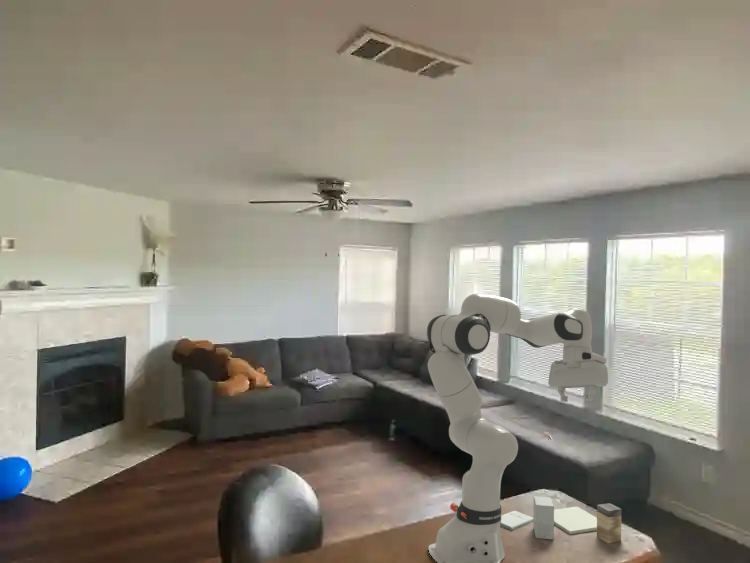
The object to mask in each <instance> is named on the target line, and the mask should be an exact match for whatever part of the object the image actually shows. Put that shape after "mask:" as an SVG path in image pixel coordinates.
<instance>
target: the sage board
mask: <svg viewBox="0 0 750 563" xmlns="http://www.w3.org/2000/svg"><path fill="white" fill-rule="evenodd" d="M554 526H556V527H558V528H560V530H562V531H564V532H565V533H567V534H568V535H577V534H581V533H587V532H594V531H597V516H595V515H593V514H591V513H589V512H588V511H586V510H584V509H582V508H580V507H579V506H571V507H569V506H568V507H563V508H556V509H555V508H554Z"/></svg>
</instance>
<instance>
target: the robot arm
mask: <svg viewBox="0 0 750 563" xmlns="http://www.w3.org/2000/svg"><path fill="white" fill-rule="evenodd" d="M460 309H461V310H460V313H459V314H441V315H438V316H435V317H433V318H432V319H431V320H430V321H429V323H428V324H427V328H426V336H427V340H428V345H429V346H428V347H429V350H430V351H431V352H432V353H433V354H432V355H431V356H430V357H429V358H428V361H427V370H428V373H429V376H430V379H431V382H432V384H433V386H434V390H435V391H436V393H437V396H438V397H439V400H440V401H441V403H442V405H443V407H444V409H445V411H446V413H447V416H448V420H449V422H450V424H449V427H448V436H449V439H450V441H451V442H452V443H453V444H454V445H455V446H456V447H457V448H459V449H460V450H461V451H463V452H465V453H467V454H469V455H471V456H472V463H471V467H470V469H469V470H467V471H466V472H465V473H464V474H463V476H462V478H461V480H462V482H461V484H462V485H461V486H462V487H461V488H462V489H461V490H462V492H461V496H462V497H461V501H460V504H459V505H457V504H456V503H455V502H452V503H451V504H450V505H449V508H450V510H452V511H453V512H454V513H456V515H455V516H454V517H453V518H451V519H450V520H449V521H448V522H446V524H445V525H443V526H442V527H440V528H439V530H438V532H437V535H436V540H435V542H434V543H431V544H429V545H428V547H427V548H428V550H429V552H428V554H429V553H430V555H431V556H432V557H433V559H435V561H437V562H438V563H501V562H502V561H503V559H505V556H506V553H505V549H504V546H503V540H502V531H501V526H500V522H501V516H502V505H501V483H502V479H503V474H504V471H505V469H506V468H507V466H508V465H510V464H511V463H512V462H513V461H515V459H516V457H517V455H518V451H519V443H518V440H517V438H516V436H515V435H514V434H513V433H511V432H510V431H509V430H508V429H506V428H505V427H503V426H501V425H500V424H495V423H493V422H491V421H488V420H487V419H486V418H485V417H484V416H483V414H482V412H481V407H482V406H483V397H482V395H481V393H480V391H479V389H478V386H476V383H475V381H474V378H473V377H472V375H471V373H470V371H469V370H468V368H467V365H466V360H465V355H468V356H474V355H477V354H478V355H479V354H480V353H483V352H484V351H485V350H486V349H487V347H488V345H489V342H490V340H491V339H490V338H491V333H496V334H503V335H506V336H511V337H514V338H517V339H519V340H522V341H524V342H525V343H527V344H528V345H530V347H532V348H535V349H536V348H537V349H539V348H542V347H546V346H551V345H557V344H563V348H562V359H560V360H554V361H553V362H552V363H551V364H550V370H549V374H548V382H547V384H548V386H549V387H550V388H553V389H555V390H556V389H557V391H558V394H559V396H560V402H563V403H568V402H569V401H568V399H569V398H568V397H569V396H568V395H567V396H566V393H565V392H566V389H574V388H575V389H577V388H588V389H589V391H588V393H587V394H585V401H587V402H593V401H594V396H595V395H596V392H597V390H598V389H597V388H598V387H606V386H607V385H608V383H609V372H608V367H607V364H606V363H607V357H605V356H603V355H600V354H598V353H595V352H593V349H592V344H591V342H592V339H593V326H592V319H591V316H590V314H589V312H588V311H586V310H584V309H580V308H575V307H574V308H569V309H568V310H566V311H564V312H563V311H562V312H557V313H551V314H548V315H544V316H540V317H533V318H530V319H526V320H525V319H523V318H522V313H521V308H520V307H519V305H518V303H517V302H515V301H514V300H512V299H511V298H510V299H509V298H507V297H504V296H503V297H502V296H499V295H495V294H487V293H473V294H470V295H468V296H467V297H465V299H464V300H463V302H462V304H461V307H460ZM428 550H427V551H428ZM430 555H429V556H430ZM431 556H430V557H431ZM433 559H432V560H433ZM435 561H434V562H435Z"/></svg>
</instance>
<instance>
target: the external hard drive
mask: <svg viewBox="0 0 750 563" xmlns="http://www.w3.org/2000/svg"><path fill="white" fill-rule="evenodd" d="M533 517H534V516H530V515H528V514H524V513H522V512H520V511H518V510H512V511H509V512H507V513H504V514H501V522H500V527H503V528H505V529H507V530H510V531H514V530H516V529H519V528H521V527H523V526H525V525H527V524H530V523H532V522H533Z"/></svg>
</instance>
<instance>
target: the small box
mask: <svg viewBox="0 0 750 563" xmlns="http://www.w3.org/2000/svg"><path fill="white" fill-rule="evenodd" d="M554 510H555V506H554V503H553V500H552V498H551V497H550V496H537V495H534V496H533V516H532V517H533V521H532V522H533V524H532V525H533V531H534V536H535V539H543V540H552V541H553V540H555V524H554Z"/></svg>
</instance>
